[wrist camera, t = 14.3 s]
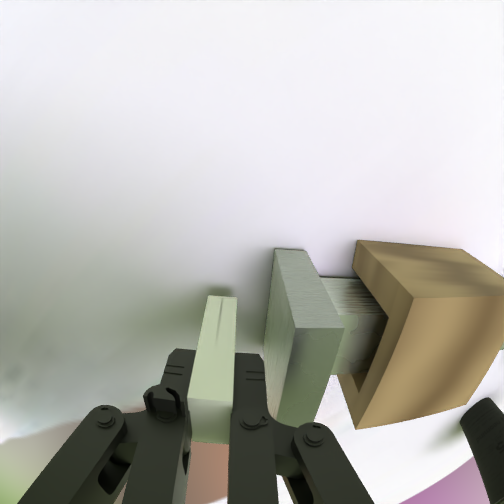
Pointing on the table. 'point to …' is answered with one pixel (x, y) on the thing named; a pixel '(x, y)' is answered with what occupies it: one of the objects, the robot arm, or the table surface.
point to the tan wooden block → (425, 331)
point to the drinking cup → (487, 445)
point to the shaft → (314, 335)
